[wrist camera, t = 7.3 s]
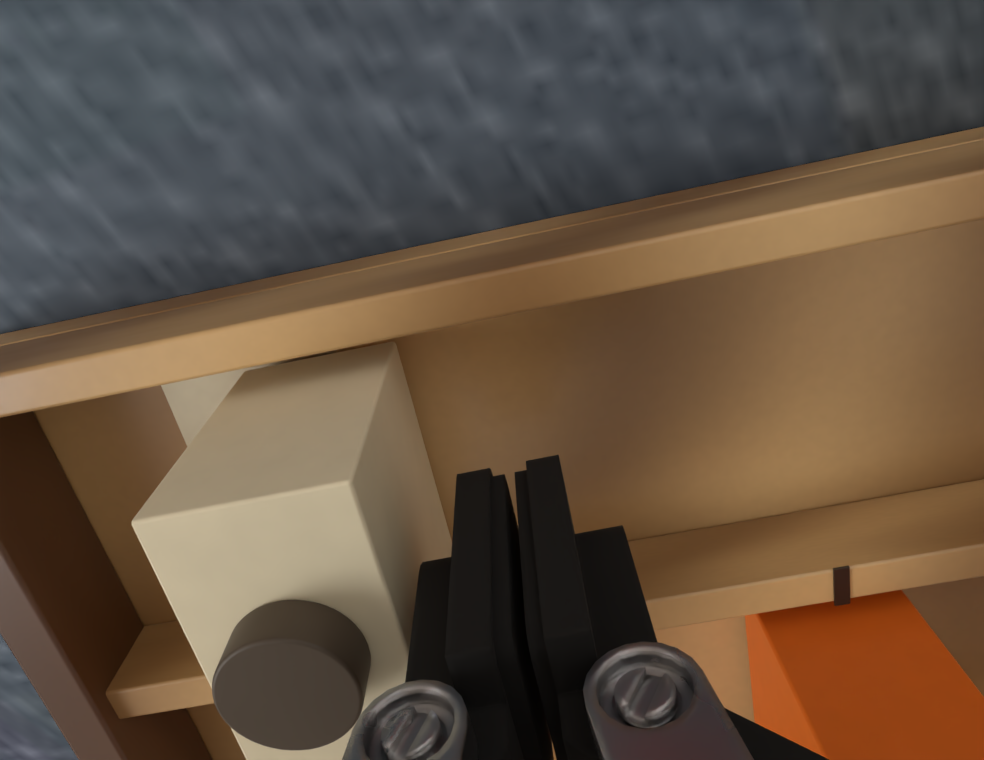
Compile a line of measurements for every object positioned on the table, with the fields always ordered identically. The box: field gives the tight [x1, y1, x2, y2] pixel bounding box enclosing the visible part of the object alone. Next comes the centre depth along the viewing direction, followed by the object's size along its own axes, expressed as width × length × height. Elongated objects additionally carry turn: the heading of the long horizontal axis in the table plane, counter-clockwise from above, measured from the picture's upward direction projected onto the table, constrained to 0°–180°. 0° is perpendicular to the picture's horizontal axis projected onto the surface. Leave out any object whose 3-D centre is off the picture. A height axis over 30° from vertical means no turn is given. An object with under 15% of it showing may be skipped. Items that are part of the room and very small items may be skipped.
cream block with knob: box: [132, 342, 452, 760], centre depth 12 cm, size 3×5×6 cm, turn 12°
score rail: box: [0, 127, 984, 760], centre depth 16 cm, size 24×15×3 cm, turn 102°
